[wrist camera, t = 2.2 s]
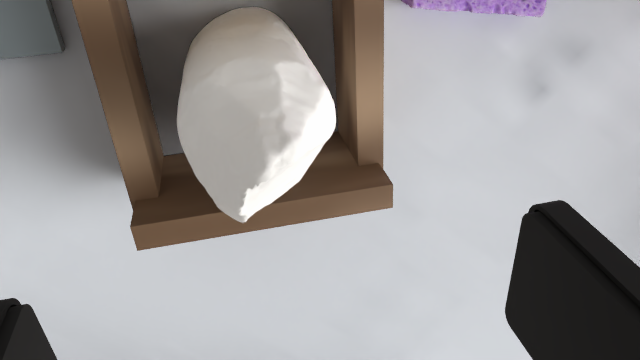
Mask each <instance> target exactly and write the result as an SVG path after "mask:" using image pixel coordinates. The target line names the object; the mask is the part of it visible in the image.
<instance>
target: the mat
mask: <svg viewBox="0 0 640 360" xmlns="http://www.w3.org/2000/svg"><path fill="white" fill-rule="evenodd" d="M64 50H65V47H64V43H63V40H62V37H61V34H60V31H59V27H58V24H57V21H56V18H55V15H54V12H53V8H52V5H51V2H50V0H0V60H1V59H10V58H19V57H28V56H37V55H46V54H55V53H62V52H63V51H64Z"/></svg>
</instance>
